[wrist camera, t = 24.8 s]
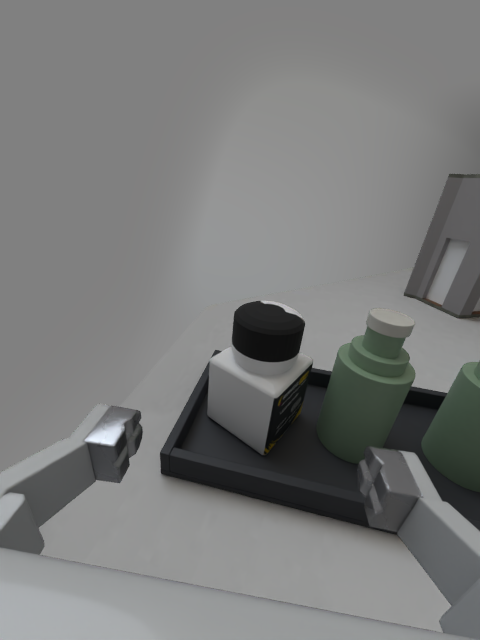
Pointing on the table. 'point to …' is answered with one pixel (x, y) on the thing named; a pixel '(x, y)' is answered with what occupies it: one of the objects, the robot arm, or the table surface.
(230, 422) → the medicine bottle
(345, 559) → the table surface
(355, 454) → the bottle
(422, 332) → the table surface
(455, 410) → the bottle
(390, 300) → the table surface
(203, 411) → the tray
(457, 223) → the grey toy building
